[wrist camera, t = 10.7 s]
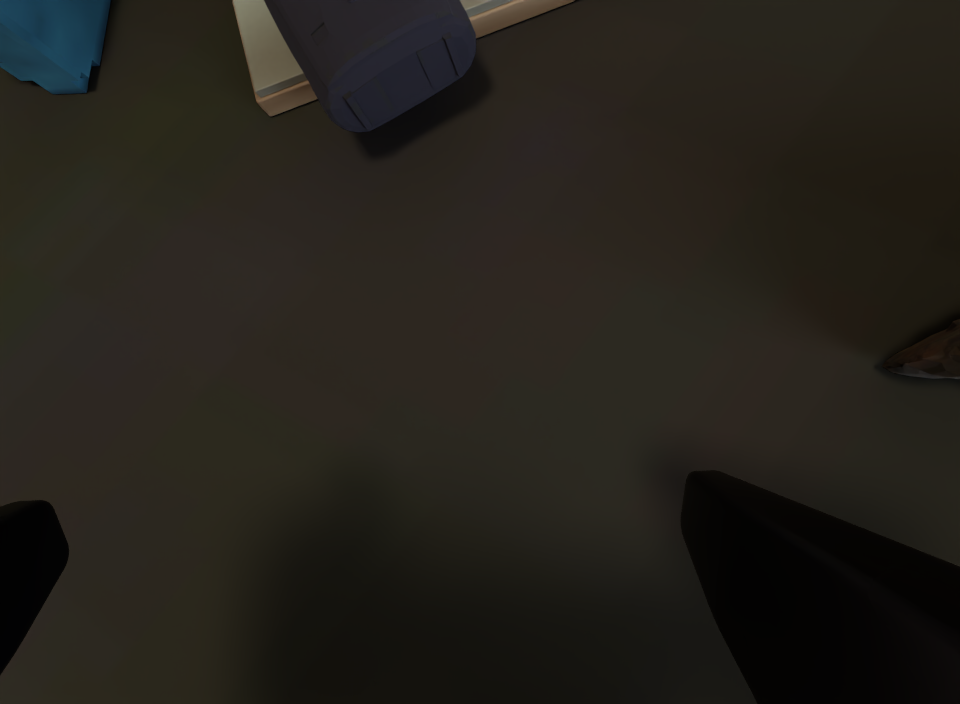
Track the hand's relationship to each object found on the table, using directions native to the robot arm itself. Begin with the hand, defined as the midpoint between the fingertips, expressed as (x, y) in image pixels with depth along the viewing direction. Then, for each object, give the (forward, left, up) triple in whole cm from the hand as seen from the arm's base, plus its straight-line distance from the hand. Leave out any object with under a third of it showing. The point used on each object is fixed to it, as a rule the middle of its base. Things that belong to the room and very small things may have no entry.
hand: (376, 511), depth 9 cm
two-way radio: (+5, -10, -7) cm, 13 cm away
